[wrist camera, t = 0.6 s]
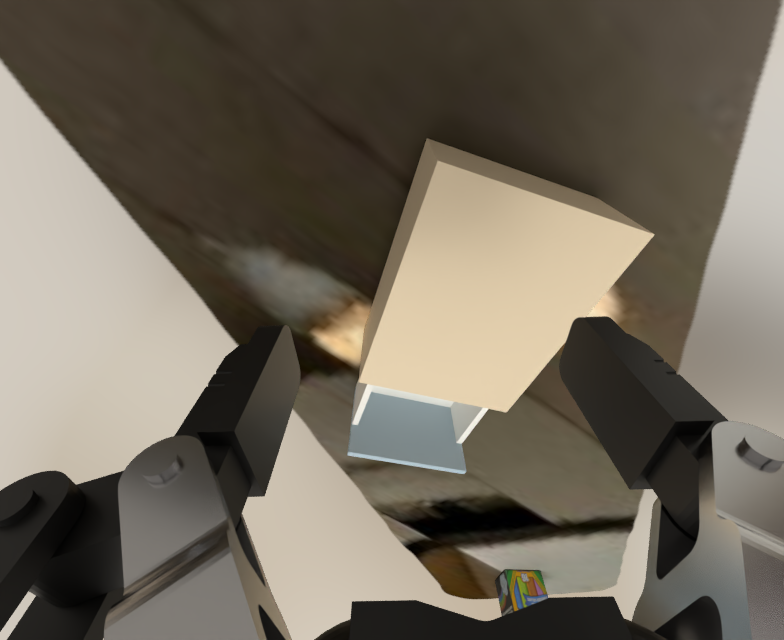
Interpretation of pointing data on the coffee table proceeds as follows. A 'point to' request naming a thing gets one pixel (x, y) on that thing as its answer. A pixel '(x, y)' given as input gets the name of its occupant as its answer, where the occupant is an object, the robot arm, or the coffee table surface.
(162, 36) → the coffee table surface
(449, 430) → the inner tray
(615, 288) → the coffee table surface
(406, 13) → the coffee table surface
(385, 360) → the sleeve
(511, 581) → the chalk box
